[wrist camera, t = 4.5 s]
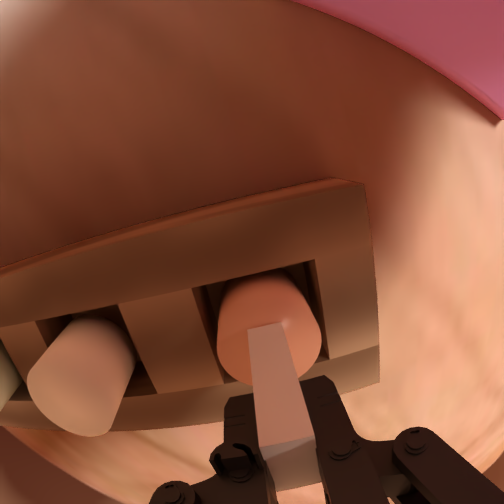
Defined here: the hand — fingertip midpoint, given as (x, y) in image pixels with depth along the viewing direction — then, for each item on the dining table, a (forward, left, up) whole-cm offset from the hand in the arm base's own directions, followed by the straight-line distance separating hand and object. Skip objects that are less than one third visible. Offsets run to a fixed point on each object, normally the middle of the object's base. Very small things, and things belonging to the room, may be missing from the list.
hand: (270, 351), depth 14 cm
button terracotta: (0, 0, -4) cm, 4 cm away
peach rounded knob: (0, -10, -3) cm, 10 cm away
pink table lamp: (-22, +19, -7) cm, 30 cm away
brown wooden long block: (0, -10, -7) cm, 12 cm away
